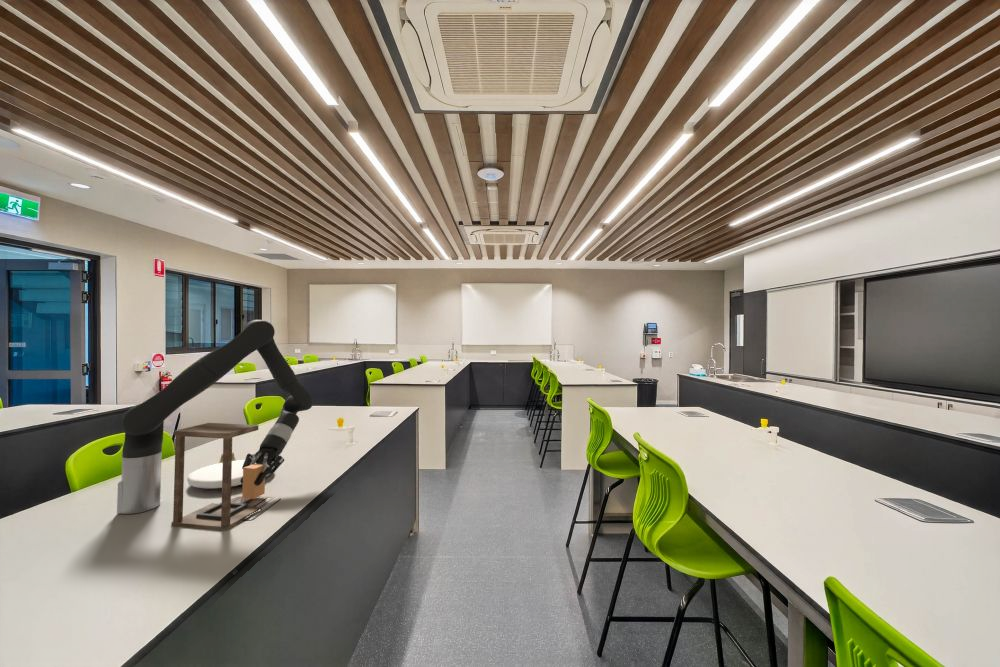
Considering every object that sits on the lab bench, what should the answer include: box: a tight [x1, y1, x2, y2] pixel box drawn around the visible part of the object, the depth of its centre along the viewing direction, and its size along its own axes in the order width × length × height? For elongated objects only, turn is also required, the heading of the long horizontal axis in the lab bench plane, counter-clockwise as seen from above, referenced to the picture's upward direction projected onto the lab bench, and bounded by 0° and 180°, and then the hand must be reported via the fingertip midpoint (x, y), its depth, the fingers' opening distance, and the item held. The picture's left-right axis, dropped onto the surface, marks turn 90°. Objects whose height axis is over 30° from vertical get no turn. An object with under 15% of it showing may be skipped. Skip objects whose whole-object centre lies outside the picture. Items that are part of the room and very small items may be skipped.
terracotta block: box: [241, 464, 266, 500], centre depth 128 cm, size 4×4×10 cm
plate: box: [186, 459, 274, 489], centre depth 145 cm, size 28×6×27 cm
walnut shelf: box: [171, 422, 262, 532], centre depth 115 cm, size 13×18×28 cm
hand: (249, 483), depth 126 cm, fingers closed on terracotta block, 4 cm apart
